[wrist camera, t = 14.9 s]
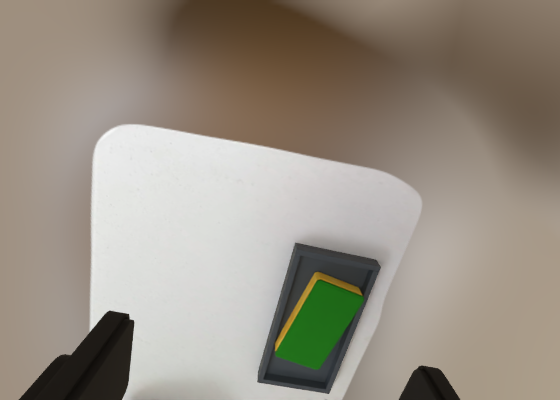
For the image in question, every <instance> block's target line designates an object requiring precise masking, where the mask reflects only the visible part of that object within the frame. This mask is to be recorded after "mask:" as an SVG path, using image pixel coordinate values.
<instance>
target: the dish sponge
mask: <svg viewBox="0 0 560 400" xmlns="http://www.w3.org/2000/svg"><path fill="white" fill-rule="evenodd" d="M363 302H364V297H363V296H362V293H361V291H360V289H359V287H356V286H354V285H351V284H349V283H346V282H343V281H341V280H338V279H336V278H333V277H331V276H328V275H326V274H323V273H321V272H315V273H314V275H313V277H312V278H311V280H310V282H309V284H308V285H307V287H306V289H305V291H304V292H303V294H302V296H301V298H300V299H299V301H298V303H297V305H296V306H295V308H294V310H293V312H292V313H291V315H290V317H289V319H288V321H287V322H286V324H285V326H284V328H283V329H282V331H281V333H280V335H279V336H278V338H277V340H276V342H275V351H276V352H275V355H276V357H279V358H282V359H285V360H288V361H291V362H294V363H297V364H300V365H303V366H306V367H309V368H312V369H315V370H318V369H320V368H321V366H322V364H323V363H324V361H325V360H326V358H327V357H328V355H329V354H330V352H331V351H332V349H333V348H334V346H335V345H336V343H337V342H338V340H339V339H340V337H341V335H342V334H343V332H344V331H345V329H346V328H347V326H348V325H349V323H350V322H351V320H352V319H353V317H354V316H355V314H356V313H357V311H358V310H359V308H360V307H361V305H362V303H363Z"/></svg>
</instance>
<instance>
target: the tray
mask: <svg viewBox="0 0 560 400" xmlns="http://www.w3.org/2000/svg"><path fill="white" fill-rule="evenodd" d="M380 268H381V267H380V265H379V264H378V262H377V261H376V260H374V259H369V258H364V257H360V256H355V255H350V254H346V253H341V252H336V251H331V250H327V249H322V248H317V247H312V246H308V245H303V244H298V243H295V246H294V249H293V253H292V256H291V260H290V263H289V267H288V270H287V274H286V277H285V281H284V284H283V287H282V291H281V294H280V298H279V301H278V305H277V308H276V312H275V315H274V319H273V322H272V325H271V329H270V332H269V336H268V339H267V343H266V346H265V350H264V353H263V357H262V360H261V363H260V367H259V370H258V381H257V382H259V383H265V384H271V385H277V386H284V387H290V388H296V389H302V390H309V391H315V392H321V393H327V394H329V393H330V390H331V388H332V385H333V383H334V380H335V378H336V376H337V373H338V371H339V368H340V366H341V363H342V361H343V358H344V356H345V354H346V351H347V349H348V346H349V344H350V341H351V339H352V336H353V334H354V331H355V329H356V327H357V324H358V322H359V319H360V317H361V314H362V312H363V309H364V307H365V305H366V302H367V300H368V297H369V295H370V292H371V290H372V287H373V285H374V282H375V280H376V278H377V275H378V273H379V270H380ZM315 272H321V273H323V274H326V275H328V276H331V277H333V278H336V279H338V280H341V281H343V282H346V283H349V284H351V285H354V286H356V287H359V289H360V291H361V293H362V296H363V297H364V302H363V303H362V305H361V307H360V308H359V310H358V311H357V313H356V314H355V316H354V317H353V319H352V320H351V322H350V323H349V325H348V326H347V328H346V329H345V331H344V332H343V334H342V335H341V337H340V339H339V340H338V342H337V343H336V345H335V346H334V348H333V349H332V351H331V352H330V354H329V355H328V357H327V358H326V360H325V361H324V363H323V364H322V366H321V368H320V369H318V370H315V369H312V368H309V367H306V366H303V365H300V364H297V363H294V362H291V361H288V360H285V359H282V358H279V357H276V355H275V352H276V351H275V342H276V340H277V338H278V336H279V335H280V333H281V331H282V329H283V328H284V326H285V324H286V322H287V321H288V319H289V317H290V315H291V313H292V312H293V310H294V308H295V306H296V305H297V303H298V301H299V299H300V298H301V296H302V294H303V292H304V291H305V289H306V287H307V285H308V284H309V282H310V280H311V278H312V277H313V275H314V273H315Z"/></svg>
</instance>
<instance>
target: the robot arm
mask: <svg viewBox="0 0 560 400" xmlns="http://www.w3.org/2000/svg"><path fill="white" fill-rule="evenodd" d="M133 331H134V320H129V314H125V313H120V312H114V311H108V312H107V313H106V314H105V315H104V316H103V317H102V318H101V320H100V321H99V322H98V323H97V325H96V326H95V327H94V328H93V329H92V331H91V332H90V333H89V334H88V335H87V337H86V338H85V339H84V340H83V341H82V343H81V344H80V345H79V346H78V347H77V349H76V350H75V351H74V352H73V353H72V355H66V354H65V355H60V356H59V357H57V358H56V359H55V360H54V361H53V362H52V363H51V364H50V365H49V366H48V367H47V369H46V370H45V371H44V372H43V373H42V374H41V375H40V376H39V378H38V379H37V380H36V381H35V382H34V383H33V384H32V386H31V387H30V388H29V389H28V390H27V391H26V392H25V393H24V395H23V396H22V397H21V398H20V399H19V400H122V398H123V396H124V394H125V392H126V389H127V386H128V381H129V371H130V361H131V351H132V341H133ZM399 400H460V398H459V397H458V395H457V394H456V392H455V391H454V389H453V388H452V386H451V385H450V383H449V381H448V380H447V378H446V377H445V375H444V374H443V373H442V371H441V370H439V369H438V368H433V367H427V366H419V367H418V368H417V369H416V370H414V372H413V373H412V375H411V377H410V379H409V381H408V383H407V385H406V387H405V389H404V391H403V392H402V394H401V396H400V398H399Z"/></svg>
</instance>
